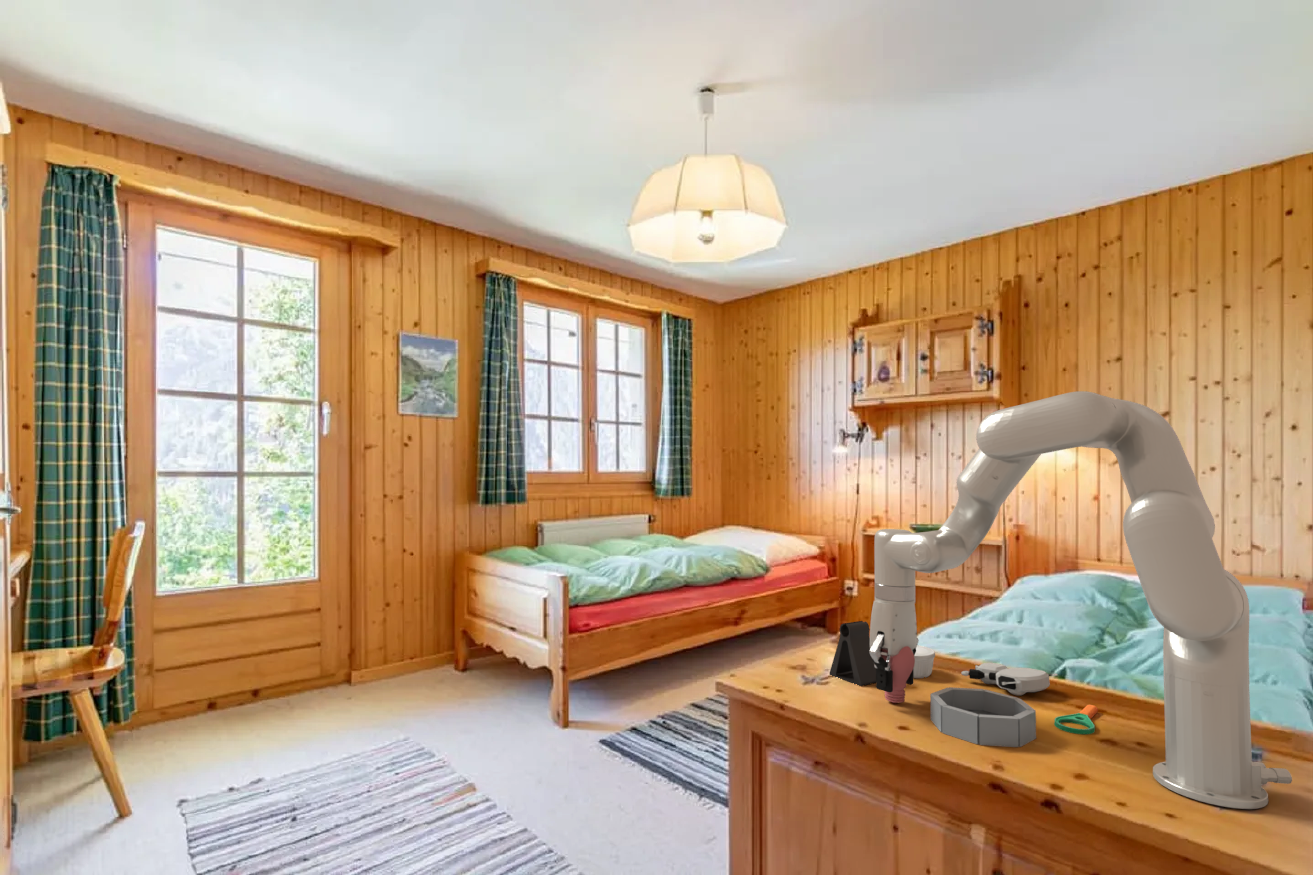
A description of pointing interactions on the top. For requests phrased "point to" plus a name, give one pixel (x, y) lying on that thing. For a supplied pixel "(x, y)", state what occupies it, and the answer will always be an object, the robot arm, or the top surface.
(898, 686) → the light bulb
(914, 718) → the top surface
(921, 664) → the ramekin
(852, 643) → the phone stand
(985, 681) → the robot toy
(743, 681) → the top surface
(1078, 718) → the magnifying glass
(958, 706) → the ceramic bowl
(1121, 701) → the top surface
